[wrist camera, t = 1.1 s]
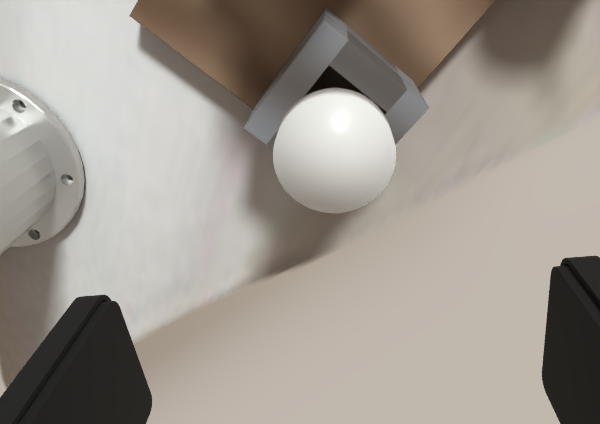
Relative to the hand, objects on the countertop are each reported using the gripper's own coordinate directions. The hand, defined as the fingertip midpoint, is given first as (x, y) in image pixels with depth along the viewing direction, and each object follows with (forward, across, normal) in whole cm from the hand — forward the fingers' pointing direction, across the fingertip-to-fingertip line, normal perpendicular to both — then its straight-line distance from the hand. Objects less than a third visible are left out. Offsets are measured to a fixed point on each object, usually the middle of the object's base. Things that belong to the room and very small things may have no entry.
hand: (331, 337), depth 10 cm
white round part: (+17, 0, 0) cm, 17 cm away
